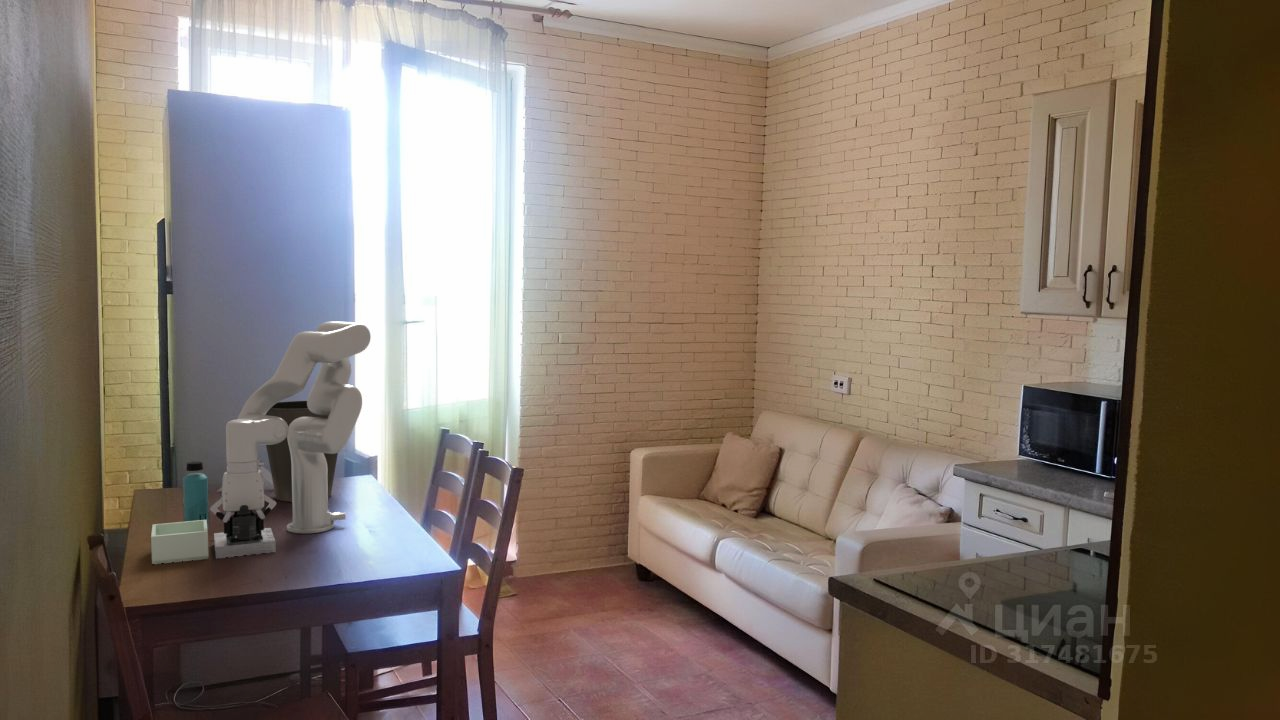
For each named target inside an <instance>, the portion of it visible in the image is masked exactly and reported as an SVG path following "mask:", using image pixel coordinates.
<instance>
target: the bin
mask: <svg viewBox="0 0 1280 720" xmlns="http://www.w3.org/2000/svg"><path fill="white" fill-rule="evenodd" d="M151 527H152V528H151V536H150V541H151V542H150V543H151V545H150V546H151V565H152V564H155V565H162V564H161V563H164V564H170V563H171V564H173V563H172V562H174V563H182V561H183V562H191V561H192V560H193V561H201V560H209V528H208V529H207V520H197V521H186V522H184V521H175V522H166V523H155V524H152V525H151ZM193 561H192V562H193Z"/></svg>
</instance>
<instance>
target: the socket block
mask: <svg viewBox="0 0 1280 720" xmlns="http://www.w3.org/2000/svg"><path fill="white" fill-rule="evenodd" d="M213 540H214V541H213V542H214V543H213V546H214V554H215V559H218V558H219V559H227V558H226V557H228V558H235V557H234V556H238V557H244V556H243V555H247V556H252V555H251V554H256V555H262V554H261V553H266V554H271V553H270V552H275V553H276V552H277V551H276V550H277V549H276V539H275V535H274V533H273V530H272V528H271V527H264V530H261V534H260V535H259V534H258V540H253V541H243V542H233V543H230V537H229V538H227V534H224V531H221V532H214V533H213ZM219 559H218V560H219Z"/></svg>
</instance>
